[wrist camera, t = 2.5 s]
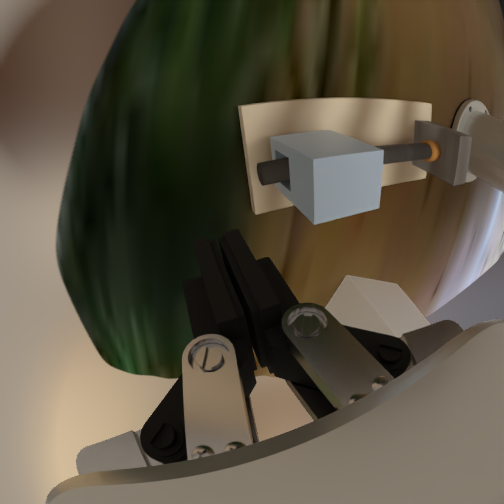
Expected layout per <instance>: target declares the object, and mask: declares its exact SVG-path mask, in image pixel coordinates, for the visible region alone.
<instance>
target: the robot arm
mask: <svg viewBox="0 0 504 504" xmlns="http://www.w3.org/2000/svg"><path fill="white" fill-rule="evenodd" d="M452 129H454V130H456V131H459V132H462V133H464V134H467V135H469V136H472V142H471V150H470V158H469V164H468V171H467V176H466V182H471V181H473V180H475V179H476V178H477V177H478V178H480V179H481V180H483V181H485V182H487V183H488V184H490V185H492V186H493V187H495V188H497V189H498V190H500V191H502V192H503V193H504V120H501V119H499V118H496V117H494V116H491V115H489V113H488V110H487V108H486V107H485V105H484V104H483V103H482V102H480V101H478V100H475V99H468V100H467V101H465V102H464V103H463V104H462V105H461V107H460V108H459V110H458V112H457V114H456V116H455V119H454V122H453V126H452ZM193 243H194V247H195V251H196V254H197V258H198V262H199V265H200V269H201V272H202V276H201V277H198V278H195V279H191V280H188V281H184V282H183V288H184V293H185V298H186V303H187V308H188V313H189V318H190V323H191V327H192V332H193V336H194V340H192V341H191V342H190V343H189V344H188V345H187V346H186V348H185V350H184V352H183V357H182V372H183V373H182V374H181V376H180V377H179V379H178V380H177V381H176V383H175V384H174V385H173V387H172V388H171V389H170V391H169V392H168V393H167V395H166V396H165V398H164V399H163V400H162V401H161V403H160V404H159V405H158V407H157V408H156V410H155V411H154V412H153V413H152V415H151V416H150V417H149V419H148V420H147V422H146V423H145V424H144V426H143V428H142V429H141V430H139V431H136V432H134V431H129V432H126V433H124V434H121V435H119V436H116V437H113V438H110V439H108V440H105V441H102V442H99V443H96V444H93V445H90V446H87V447H85V448H83V449H82V450H81V451H80V452H79V453H78V455H77V460H76V464H77V470H78V473H79V475H78V476H75V477H72V478H70V479H67V480H65V481H63V482H61V483H60V484H58V485H57V486H56V487H54V488H53V489H52V490H51V492H50V493H49V494H48V496H47V499H46V504H504V319H495V320H489V321H484V322H481V323H478V324H476V325H474V326H472V327H470V328H468V329H466V330H465V331H463V329H462V328H461V327H460V326H459V324H457V323H456V322H454V321H451V320H443V321H440V322H437V323H434V324H431V325H428V326H425V327H422V328H419V329H416V330H413V331H410V332H407V333H404V334H402V336H401V337H399V338H397V337H394V336H391V335H387V334H382V333H377V332H373V331H368V330H363V329H359V328H355V327H350V326H346V325H342V324H341V323H340V322H339V321H338V320H337V319H336V318H335V317H334V316H333V315H332V314H331V313H330V312H329V311H328V310H326V309H325V308H324V307H322V306H320V305H317V304H314V303H300V304H299V302H298V300H297V299H296V297H295V296H294V294H293V293H292V291H291V290H290V288H289V287H288V285H287V284H286V282H285V281H284V279H283V277H282V276H281V274H280V273H279V271H278V270H277V268H276V267H275V265H274V264H273V262H272V261H271V259H270V258H269V257H265V258H262V259H258V260H256V259H255V258H254V256H253V254H252V253H251V251H250V249H249V247H248V246H247V244H246V242H245V240H244V239H243V237H242V235H241V234H240V232H239V230H238V229H236V230H232V231H229V232H225V233H223V237H222V238H219V244H220V248H221V253H222V257H223V260H222V258H221V255H220V253H219V250H218V248H217V245H216V243H215V240H211V241H209V240H208V238H204V239H200V240H197V241H193ZM223 261H224V263H223ZM252 347H253V349H254V352H255V354H256V356H257V359H258V361H259V363H260V366H261V367H262V368H263V367H266V366H267V368H268V370H269V372H270V374H271V373H274V375H275V376H276V377H279V378H282V379H285V380H286V383H287V385H288V386H289V387H290V389H291V390H292V392H293V393H294V394H295V396H296V397H297V398H298V400H299V401H300V402H301V404H302V405H303V407H304V408H305V409H306V411H307V412H308V413H309V415H310V416H311V417H312V419H313V420H314V422H311V423H309V424H306V425H304V426H302V427H299V428H297V429H294V430H292V431H289V432H286V433H284V434H281V435H278V436H275V437H273V438H270V439H267V440H264V441H261V442H259V438H258V433H257V428H256V423H255V418H254V414H253V409H252V404H251V398H250V393H251V392H252V390H253V388H254V386H255V384H256V379H255V375H254V370H257V366H256V362H255V358H254V353H253V349H252Z"/></svg>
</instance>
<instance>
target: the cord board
mask: <svg viewBox="0 0 504 504" xmlns="http://www.w3.org/2000/svg"><path fill="white" fill-rule="evenodd" d="M238 111H239V118H240V125H241V132H242V139H243V146H244V154H245V161H246V168H247V175H248V183H249V190H250V197H251V205H252V210H253V212H254V213H255V215H257V214H261V213H265V212H269V211H273V210H277V209H281V208H286V207H290V206H294V204H293V203H291V202H290V201H289V200H288V199H287V198H286V197H285V196H284V195H283V194H282V193H281V192H280V191H279V190H278V189H277V188H276V187H275V184H274V183H279V182H283V181H288V180H290V171H289V158H288V157H287V158H281V159H275V160H272V153H271V144H270V137H273V136H280V135H287V134H294V133H302V132H311V131H320V130H331V131H334V132H337V133H340V134H343V135H346V136H349V137H351V138H354V139H357V140H359V141H362V142H365V143H367V144H370V145H372V146H375V147H377V148H380V149H382V150H384V157H383V172H382V185H381V187H382V186H387V185H392V184H397V183H403V182H408V181H413V180H419V179H424V178H426V173H427V172H428V173H430V174H432V175H434V176H436V177H438V178H440V179H441V180H443V181H445V182H447V183H449V184H451V185H452V186H456V185H461V184H465V182H466V176H467V171H468V164H469V158H470V150H471V142H472V136H469V135H467V134H464V133H462V132H459V131H456V130H454V129H451V128H448V127H445V126H443V125H440V124H437V123H434V122H431V112H432V104H430V103H426V102H418V101H409V100H398V99H383V98H357V97H334V98H307V99H292V100H281V101H271V102H262V103H254V104H247V105H240V106H238Z"/></svg>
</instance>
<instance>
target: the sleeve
mask: <svg viewBox="0 0 504 504" xmlns="http://www.w3.org/2000/svg"><path fill="white" fill-rule="evenodd" d="M270 144H271V153H272V160H275V159H281V158H287V157H288V158H289V171H290V180H288V181H283V182H279V183H274V184H275V187H276V188H277V189H278V190H279V191H280V192H281V193H282V194H283V195H284V196H285V197H286V198H287V199H288V200H289V201H290V202H291V203H293V204H294V205H295V206H296V207H297V208H298V209H299V210H300V211H301V212H302V213H303V214H304V215H305V216H306V217H307V218H308V219H309V220H310V221H311V222H312V223H313V224H314V225H316V224H320V223H324V222H327V221H331V220H335V219H339V218H343V217H347V216H350V215H354V214H358V213H362V212H366V211H370V210H374V209H378V208H379V204H380V195H381V185H382V172H383V157H384V150H382V149H380V148H377V147H375V146H372V145H370V144H367V143H365V142H362V141H359V140H357V139H354V138H351V137H349V136H346V135H343V134H340V133H337V132H334V131H331V130H320V131H311V132H302V133H294V134H287V135H280V136H273V137H270Z"/></svg>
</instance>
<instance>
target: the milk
mask: <svg viewBox="0 0 504 504" xmlns="http://www.w3.org/2000/svg"><path fill="white" fill-rule="evenodd" d="M325 309H326V310H328V311H329V312H330V313H331V314H332V315H333V316H334V317H335V318H336V319H337V320H338V321H339V322H340V323H341V324H342V325H346V326H350V327H355V328H359V329H363V330H368V331H373V332H377V333H382V334H387V335H391V336H394V337H397V338H399V337H401V336H402V334H404V333H407V332H410V331H413V330H416V329H419V328H422V327H425V326H428V325H430V323H429V322H428V321H427V320H426V318H425V317H424V316H423V314H422V313H421V312H420V311H419V310H418V308H417V307H416V306H415V305H414V303H413V302H412V301H411V300H410V298H409V297H408V296H407V295H406V294H405V293H404V291H403V290H402V289H401V288H400V287H399V285H398V284H396V283H390V282H385V281H379V280H373V279H368V278H362V277H357V276H351V275H346V276H345V278H344V279H343V281H342V283H341V284H340V286H339V287H338V289H337V290H336V292H335V293H334V295H333V296H332V298H331V299H330V301H329V302H328V304H327V305H326V307H325Z"/></svg>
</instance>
